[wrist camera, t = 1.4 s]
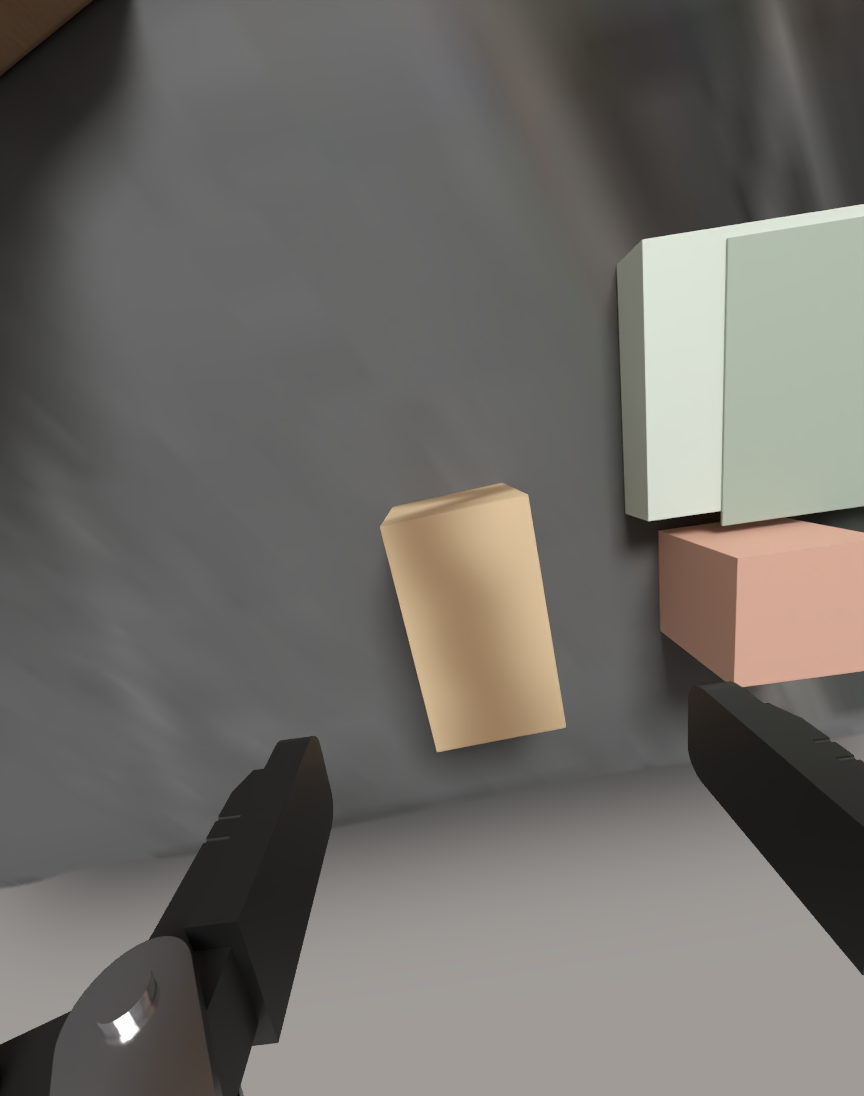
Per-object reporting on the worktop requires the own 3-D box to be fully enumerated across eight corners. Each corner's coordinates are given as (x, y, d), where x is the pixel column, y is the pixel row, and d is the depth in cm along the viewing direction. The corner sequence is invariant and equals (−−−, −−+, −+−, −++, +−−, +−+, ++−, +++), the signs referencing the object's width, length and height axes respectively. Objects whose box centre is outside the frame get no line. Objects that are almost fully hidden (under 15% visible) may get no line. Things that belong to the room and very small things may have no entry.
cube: (767, 514, 19) (887, 537, 14) (763, 615, 20) (872, 669, 15) (657, 530, 19) (737, 558, 14) (659, 630, 20) (733, 688, 15)
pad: (927, 215, 16) (1001, 181, 14) (895, 488, 18) (953, 493, 16) (616, 264, 16) (643, 238, 14) (625, 526, 19) (650, 536, 17)
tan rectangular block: (502, 482, 18) (528, 494, 13) (533, 661, 20) (565, 727, 16) (393, 506, 19) (380, 527, 14) (435, 680, 21) (437, 752, 16)
